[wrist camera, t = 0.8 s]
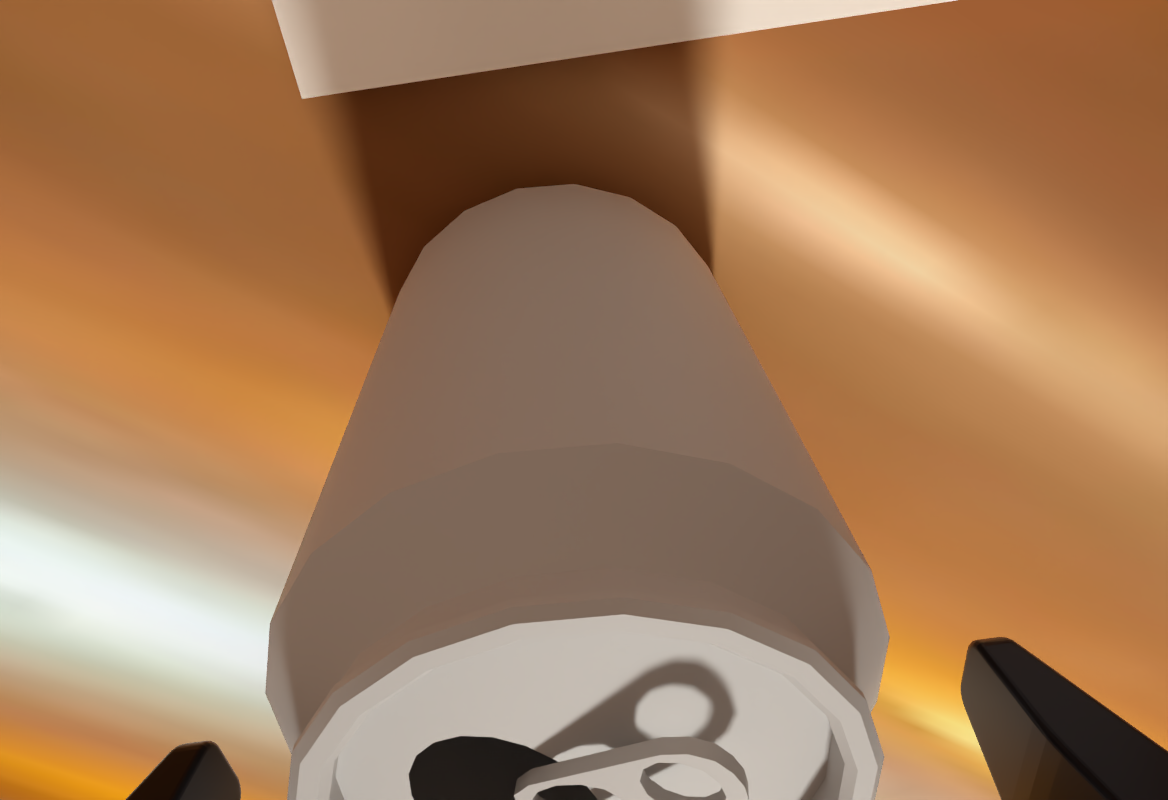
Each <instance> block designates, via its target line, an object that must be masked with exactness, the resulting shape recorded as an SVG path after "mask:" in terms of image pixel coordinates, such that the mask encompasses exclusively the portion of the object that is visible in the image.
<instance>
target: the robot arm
mask: <svg viewBox="0 0 1168 800" xmlns="http://www.w3.org/2000/svg"><path fill="white" fill-rule="evenodd" d="M961 695H962V700H963V704H964V707H965V709H966V712H967V715H968V717H969V720H970V722H971V725H972V727H973V730H974V732H975V735H976V737H977V740H978V742H979V745H980V747H981V750H982V752H983V755H984V757H985V760H986V762H987V765H988V767H989V770H990V772H991V775H992V777H993V780H994V782H995V785H996V787H997V790H998V792H999V795H1000V797H1001V800H1168V751H1167V750H1165V749H1164V748H1162V747H1161V746H1160V745H1158V744H1157V743H1155V742H1154V741H1153V740H1151V739H1150V738H1148V737H1147V736H1146V735H1144V734H1143V733H1142V732H1140V731H1139V730H1137V729H1136V728H1135V727H1133V726H1132V725H1130V724H1129V723H1128V722H1126V721H1125V720H1123V719H1122V718H1121V717H1119V716H1118V715H1116V714H1115V713H1114V712H1112V711H1111V710H1109V709H1108V708H1107V707H1105V706H1104V705H1102V704H1101V703H1100V702H1098V701H1097V700H1096V699H1094V698H1093V697H1091V696H1090V695H1089V694H1087V693H1086V692H1084V691H1083V690H1082V689H1080V688H1079V687H1077V686H1076V685H1075V684H1073V683H1072V682H1070V681H1069V680H1068V679H1066V678H1065V677H1063V676H1062V675H1061V674H1059V673H1058V672H1057V671H1055V670H1054V669H1052V668H1051V667H1050V666H1048V665H1047V664H1045V663H1044V662H1043V661H1041V660H1040V659H1038V658H1037V657H1036V656H1034V655H1033V654H1031V653H1030V652H1029V651H1027V650H1026V649H1024V648H1023V647H1022V646H1020V645H1019V644H1017V643H1016V642H1014V641H1013V640H1011V639H1008V638H1005V637H996V638H989V639H981V640H975V641H973V642H972V643H971V644H970V645H969V647H968V650H967V655H966V660H965V666H964V671H963V676H962V682H961ZM240 799H241V788H240V783H239V780H238V777H237V776H236V774H235V772H234V771H233V769H232V767H231V766H230V764H229V763H228V761H227V759H226V758H225V756H224V754H223V753H222V751H221V750H220V748H219V746H218V745H217V744H216V743H214V742H212V741H202V742H194V743H187V744H182V745H179V746H177V747H176V748H175V749H173V750H172V751H171V752H170V753H169V754H168V755H167V756H166V757H165V758H164V759H163V760H162V761H161V762H160V763H159V764H158V765H157V767H156V768H155V769H154V770H153V771H152V772H151V773H150V774H149V775H148V776H147V777H146V778H145V779H144V780H143V782H142V783H141V784H140V785H139V786H138V787H137V788H136V789H135V790H134V791H133V792H132V793H131V794H130V795H129V797H128V798H127V799H126V800H240Z"/></svg>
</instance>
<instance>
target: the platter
mask: <svg viewBox="0 0 1168 800" xmlns="http://www.w3.org/2000/svg"><path fill="white" fill-rule="evenodd" d="M949 1H956V0H272V2H273V5H274V9H275V12H276V15H277V18H278V22H279V25H280V28H281V32H282V35H283V38H284V41H285V45H286V48H287V51H288V55H289V58H290V61H291V64H292V68H293V71H294V74H295V78H296V81H297V84H298V87H299V91H300V94H301V97H302V99H305V98H311V97H318V96H324V95H331V94H338V93H344V92H351V91H358V90H364V89H371V88H378V87H384V86H391V85H398V84H404V83H411V82H417V81H424V80H431V79H437V78H444V77H451V76H457V75H464V74H471V73H477V72H484V71H491V70H497V69H504V68H510V67H517V66H524V65H530V64H537V63H544V62H550V61H557V60H564V59H570V58H577V57H584V56H590V55H597V54H603V53H610V52H617V51H623V50H630V49H637V48H643V47H650V46H657V45H663V44H670V43H677V42H683V41H690V40H697V39H703V38H710V37H716V36H723V35H730V34H736V33H743V32H750V31H756V30H763V29H770V28H776V27H783V26H790V25H796V24H803V23H809V22H816V21H823V20H829V19H836V18H843V17H849V16H856V15H863V14H869V13H876V12H883V11H889V10H896V9H902V8H909V7H916V6H922V5H929V4H936V3H942V2H949Z"/></svg>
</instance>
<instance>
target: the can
mask: <svg viewBox="0 0 1168 800" xmlns="http://www.w3.org/2000/svg"><path fill="white" fill-rule="evenodd" d="M888 642H889V633H888V630H887V626H886V622H885V619H884V615H883V611H882V608H881V604H880V601H879V597H878V593H877V590H876V586H875V582H874V579H873V575H872V571H871V569H870V567H869V565H868V563H867V562H866V560H865V558H864V556H863V554H862V552H861V550H860V549H859V547H858V545H857V543H856V541H855V539H854V537H853V535H852V534H851V532H850V530H849V528H848V526H847V524H846V522H845V521H844V519H843V517H842V515H841V513H840V511H839V509H838V508H837V506H836V504H835V502H834V500H833V498H832V496H831V495H830V493H829V491H828V489H827V487H826V485H825V483H824V481H823V480H822V478H821V476H820V474H819V472H818V470H817V468H816V467H815V465H814V463H813V461H812V459H811V457H810V455H809V454H808V452H807V450H806V448H805V446H804V444H803V442H802V441H801V439H800V437H799V435H798V433H797V431H796V429H795V427H794V426H793V424H792V422H791V420H790V418H789V416H788V414H787V413H786V411H785V409H784V407H783V405H782V403H781V401H780V400H779V398H778V396H777V394H776V392H775V390H774V388H773V387H772V385H771V383H770V381H769V379H768V377H767V375H766V374H765V372H764V370H763V368H762V366H761V364H760V362H759V360H758V359H757V357H756V355H755V353H754V351H753V349H752V347H751V346H750V344H749V342H748V340H747V338H746V336H745V334H744V333H743V331H742V329H741V327H740V325H739V323H738V321H737V320H736V318H735V316H734V314H733V312H732V310H731V308H730V306H729V305H728V303H727V301H726V299H725V297H724V295H723V293H722V292H721V290H720V288H719V286H718V284H717V282H716V280H715V279H714V277H713V275H712V273H711V271H710V269H709V267H708V266H707V264H706V263H705V262H704V261H703V259H702V258H701V257H700V256H699V254H698V253H697V252H696V251H695V249H694V248H693V247H692V246H691V244H690V243H689V242H688V241H687V239H686V238H685V237H684V236H683V234H682V233H681V232H680V230H679V229H678V228H677V227H676V226H675V225H674V224H672V223H670V222H669V221H667V220H666V219H664V218H662V217H661V216H659V215H658V214H656V213H654V212H653V211H651V210H650V209H648V208H646V207H645V206H643V205H642V204H640V203H638V202H637V201H635V200H634V199H632V198H630V197H627V196H623V195H619V194H615V193H611V192H606V191H602V190H598V189H594V188H590V187H585V186H581V185H577V184H567V185H554V186H542V187H530V188H518V189H515V190H512V191H510V192H507V193H505V194H503V195H500V196H498V197H496V198H493V199H491V200H488V201H486V202H484V203H481V204H479V205H477V206H474V207H472V208H470V209H467V210H465V211H464V212H462V213H461V214H460V215H459V216H458V217H457V218H456V219H455V220H453V221H452V222H451V223H450V224H449V225H448V226H447V227H446V228H444V229H443V230H442V231H441V232H440V233H439V234H438V235H437V236H435V237H434V238H433V239H432V240H431V241H430V242H429V243H428V244H426V245H425V246H424V248H423V250H422V251H421V253H420V255H419V257H418V259H417V261H416V262H415V264H414V266H413V268H412V270H411V272H410V274H409V275H408V277H407V279H406V281H405V283H404V285H403V286H402V288H401V290H400V292H399V295H398V297H397V300H396V302H395V305H394V308H393V310H392V313H391V315H390V318H389V320H388V323H387V325H386V328H385V331H384V333H383V336H382V338H381V341H380V343H379V346H378V348H377V351H376V354H375V356H374V359H373V361H372V364H371V366H370V369H369V372H368V374H367V377H366V379H365V382H364V384H363V387H362V389H361V392H360V395H359V397H358V400H357V402H356V405H355V407H354V410H353V413H352V415H351V418H350V420H349V423H348V425H347V428H346V430H345V433H344V436H343V438H342V441H341V443H340V446H339V448H338V451H337V453H336V456H335V459H334V461H333V464H332V466H331V469H330V471H329V474H328V477H327V479H326V482H325V484H324V487H323V489H322V492H321V494H320V497H319V500H318V502H317V505H316V507H315V510H314V512H313V515H312V517H311V520H310V523H309V525H308V528H307V530H306V533H305V535H304V538H303V541H302V543H301V546H300V548H299V551H298V553H297V556H296V558H295V561H294V564H293V566H292V569H291V571H290V574H289V576H288V579H287V582H286V584H285V587H284V589H283V592H282V594H281V597H280V599H279V602H278V605H277V607H276V610H275V612H274V615H273V617H272V620H271V622H270V632H269V647H268V663H267V678H266V696H267V698H268V700H269V703H270V705H271V707H272V710H273V712H274V714H275V717H276V719H277V721H278V724H279V726H280V728H281V731H282V733H283V735H284V738H285V740H286V743H287V745H288V747H289V750H290V752H291V754H292V756H291V766H290V777H289V787H288V797H287V800H875V797H876V792H877V787H878V783H879V778H880V774H881V769H882V765H883V760H884V754H883V751H882V748H881V745H880V742H879V739H878V735H877V732H876V729H875V726H874V723H873V720H872V717H871V711H872V709H873V707H874V706H875V704H876V702H877V697H878V692H879V687H880V682H881V677H882V672H883V667H884V662H885V657H886V652H887V647H888Z"/></svg>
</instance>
